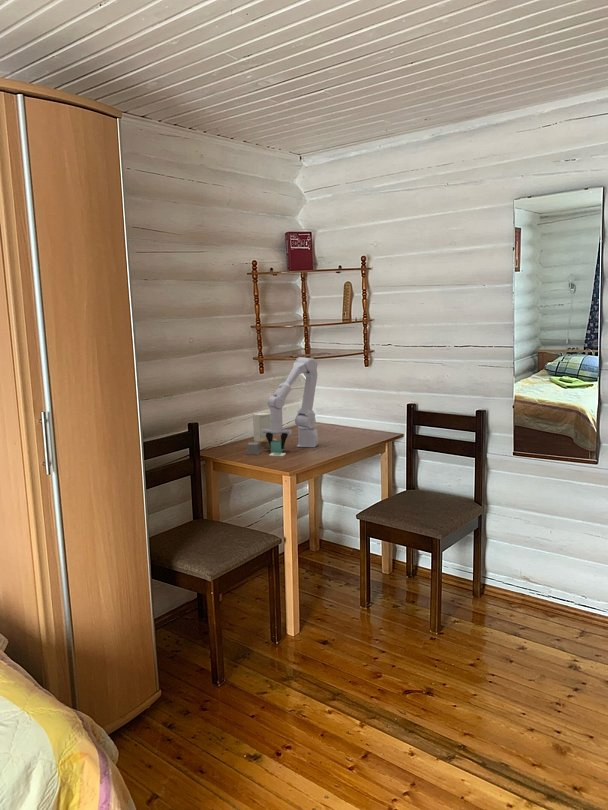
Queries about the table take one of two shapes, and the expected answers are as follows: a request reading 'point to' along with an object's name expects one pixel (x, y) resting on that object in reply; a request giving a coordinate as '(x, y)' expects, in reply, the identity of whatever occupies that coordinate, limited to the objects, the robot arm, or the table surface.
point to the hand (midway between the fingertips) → (277, 448)
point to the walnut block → (264, 443)
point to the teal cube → (276, 446)
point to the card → (277, 454)
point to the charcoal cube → (253, 448)
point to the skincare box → (261, 425)
